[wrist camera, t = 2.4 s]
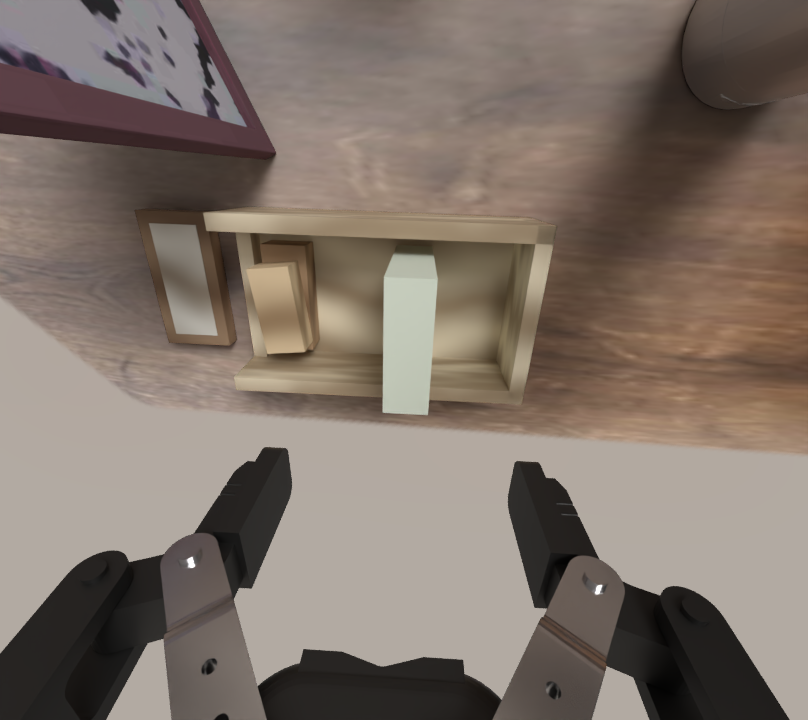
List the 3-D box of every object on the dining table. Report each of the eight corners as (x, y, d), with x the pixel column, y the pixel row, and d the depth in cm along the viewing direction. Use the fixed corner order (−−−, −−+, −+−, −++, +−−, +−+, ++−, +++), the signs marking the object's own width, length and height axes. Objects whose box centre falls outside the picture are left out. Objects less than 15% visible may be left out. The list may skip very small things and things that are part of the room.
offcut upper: (259, 262, 30) (246, 269, 28) (297, 260, 30) (287, 266, 28) (277, 342, 33) (267, 353, 31) (312, 340, 33) (304, 352, 31)
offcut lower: (271, 239, 32) (260, 244, 30) (313, 241, 32) (304, 246, 29) (282, 337, 36) (273, 347, 33) (319, 339, 36) (312, 349, 33)
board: (146, 208, 32) (134, 210, 31) (214, 211, 32) (204, 212, 31) (178, 336, 38) (168, 342, 36) (236, 339, 37) (229, 345, 36)
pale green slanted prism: (397, 244, 32) (383, 277, 21) (432, 246, 31) (437, 279, 21) (394, 342, 35) (382, 412, 25) (426, 344, 35) (427, 415, 24)
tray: (247, 206, 32) (203, 212, 25) (529, 217, 31) (557, 226, 25) (268, 354, 38) (236, 389, 31) (504, 366, 37) (521, 404, 31)
